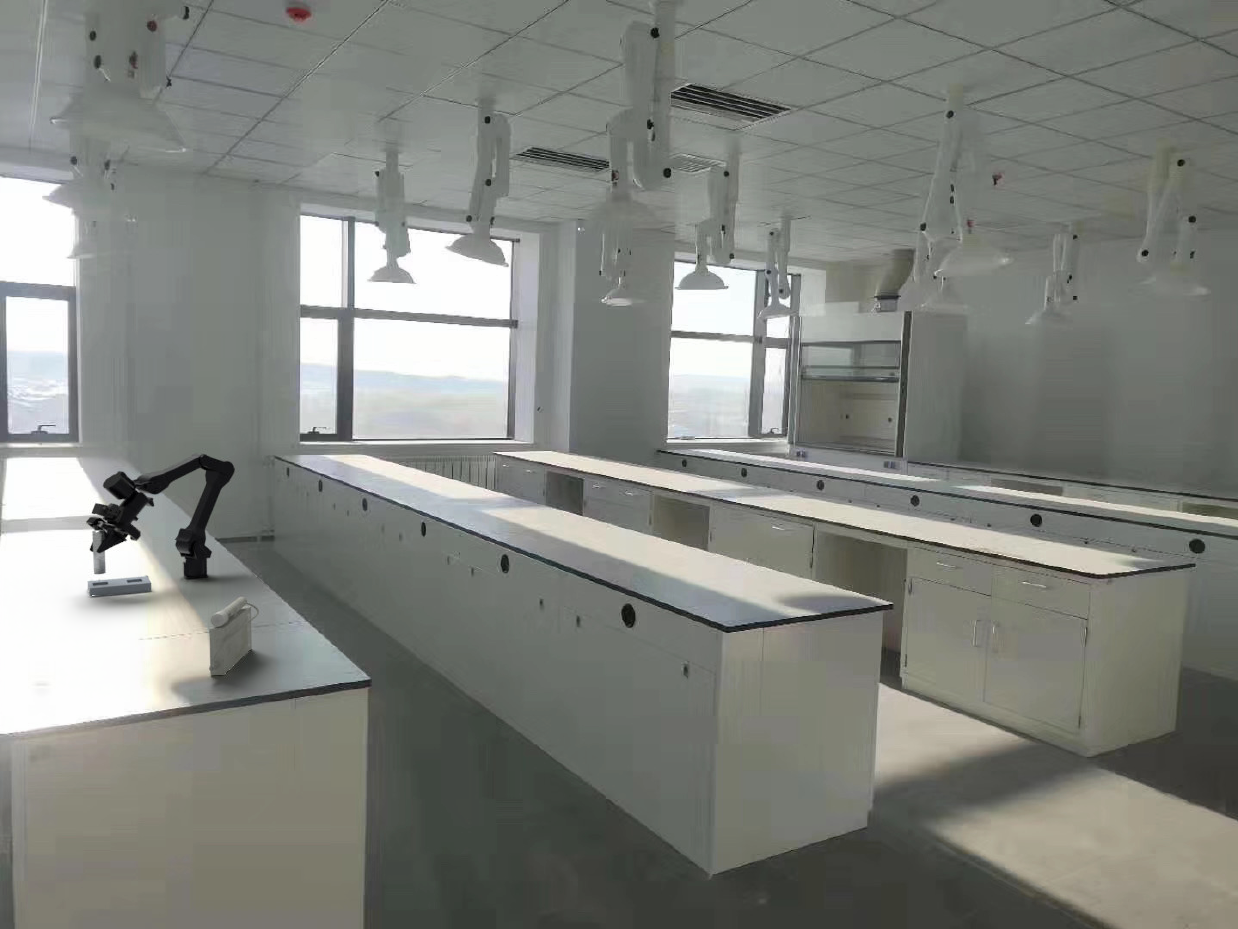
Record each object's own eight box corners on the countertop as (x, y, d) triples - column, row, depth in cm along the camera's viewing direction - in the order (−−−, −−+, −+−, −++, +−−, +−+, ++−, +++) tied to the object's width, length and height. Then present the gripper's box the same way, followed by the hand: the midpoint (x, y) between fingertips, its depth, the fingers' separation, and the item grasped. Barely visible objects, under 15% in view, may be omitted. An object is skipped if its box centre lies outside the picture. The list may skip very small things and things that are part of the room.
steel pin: (105, 571, 267) (104, 529, 266) (105, 573, 265) (103, 531, 263) (94, 572, 266) (92, 530, 265) (93, 574, 263) (92, 532, 262)
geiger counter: (234, 593, 220) (194, 621, 195) (261, 593, 220) (225, 621, 196) (234, 649, 221) (196, 684, 197) (261, 649, 222) (226, 684, 197)
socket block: (147, 584, 281) (147, 576, 281) (151, 591, 273) (151, 582, 273) (87, 589, 273) (87, 581, 272) (90, 596, 264) (89, 588, 264)
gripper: (91, 489, 271) (54, 531, 262) (129, 495, 262) (93, 539, 253) (117, 512, 278) (83, 553, 270) (155, 518, 270) (121, 562, 261)
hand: (94, 551), depth 263 cm, fingers closed on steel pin, 3 cm apart
